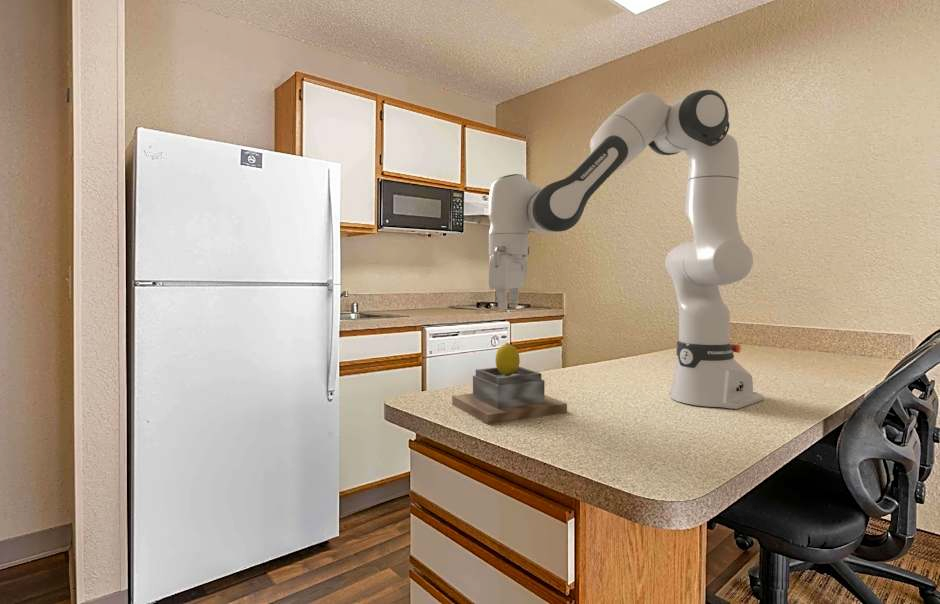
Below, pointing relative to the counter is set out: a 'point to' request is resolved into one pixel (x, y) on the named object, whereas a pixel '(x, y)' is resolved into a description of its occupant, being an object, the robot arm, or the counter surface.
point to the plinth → (507, 412)
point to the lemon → (507, 359)
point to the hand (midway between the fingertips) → (508, 308)
